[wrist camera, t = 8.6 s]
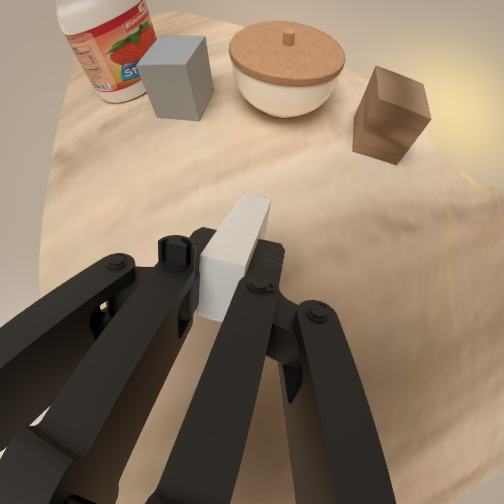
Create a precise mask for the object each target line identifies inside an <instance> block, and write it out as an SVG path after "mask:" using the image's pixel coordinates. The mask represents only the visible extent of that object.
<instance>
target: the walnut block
mask: <svg viewBox="0 0 504 504" xmlns="http://www.w3.org/2000/svg"><path fill="white" fill-rule="evenodd" d="M430 120H431V115H430V111H429V106H428V102H427V97H426V93H425V89H424V85H423V84H422V83H420V82H417V81H415V80H412V79H410V78H407V77H405V76H402V75H400V74H398V73H395V72H392V71H389V70H387V69H384V68H381V67H378V66H375V69H374V71H373V74H372V76H371V79H370V81H369V83H368V86H367V88H366V91H365V93H364V95H363V98H362V100H361V102H360V105H359V107H358V109H357V112H356V114H355V116H354V132H353V150H352V152H356V153H359V154H363V155H366V156H369V157H372V158H376V159H379V160H382V161H385V162H388V163H391V164H394V165H397V164H398V162H399V161H400V160H401V159H402V157H403V156H404V155H405V153H406V152H407V151H408V150H409V148H410V147H411V146H412V144H413V143H414V142H415V141H416V139H417V138H418V137H419V135H420V134H421V133H422V131H423V130H424V129H425V127H426V126H427V124H428V123H429V122H430Z"/></svg>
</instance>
